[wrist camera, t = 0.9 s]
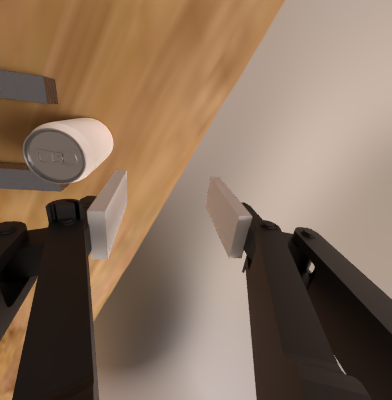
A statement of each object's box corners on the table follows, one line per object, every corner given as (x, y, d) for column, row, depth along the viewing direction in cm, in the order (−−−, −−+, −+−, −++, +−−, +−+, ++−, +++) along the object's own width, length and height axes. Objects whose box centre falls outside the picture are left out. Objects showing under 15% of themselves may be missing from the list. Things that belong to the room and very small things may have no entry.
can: (115, 162, 33) (93, 189, 22) (71, 159, 32) (25, 186, 21) (112, 119, 30) (86, 126, 19) (65, 114, 29) (8, 119, 18)
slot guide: (-55, 63, 25) (-81, 58, 22) (54, 79, 27) (43, 76, 24) (-19, 179, 31) (-36, 186, 28) (69, 184, 33) (60, 191, 30)
